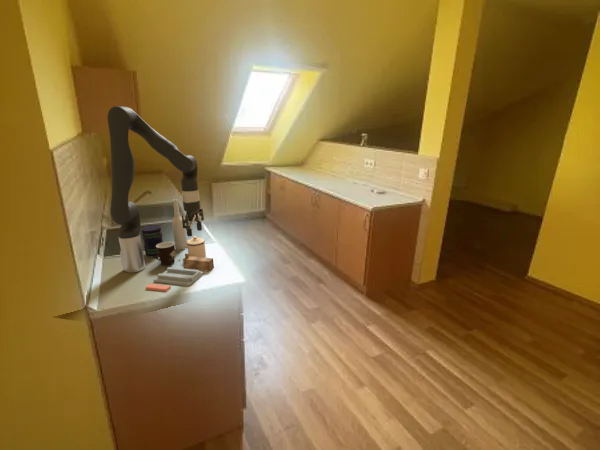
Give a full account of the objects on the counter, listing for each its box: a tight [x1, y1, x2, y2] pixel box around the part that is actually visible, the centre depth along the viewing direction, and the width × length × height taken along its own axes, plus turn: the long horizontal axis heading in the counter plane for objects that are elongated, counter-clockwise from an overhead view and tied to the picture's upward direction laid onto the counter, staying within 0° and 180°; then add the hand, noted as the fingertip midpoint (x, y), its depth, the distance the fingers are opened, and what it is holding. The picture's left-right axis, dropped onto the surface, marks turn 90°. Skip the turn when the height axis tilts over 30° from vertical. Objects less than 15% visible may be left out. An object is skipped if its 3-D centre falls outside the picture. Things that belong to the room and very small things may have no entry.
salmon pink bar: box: [145, 283, 172, 292], centre depth 141 cm, size 10×3×2 cm, turn 78°
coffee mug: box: [154, 241, 176, 267], centre depth 164 cm, size 12×9×10 cm
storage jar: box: [140, 224, 164, 258], centre depth 176 cm, size 10×10×15 cm
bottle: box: [171, 198, 188, 250], centre depth 183 cm, size 7×7×28 cm
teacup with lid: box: [186, 235, 207, 258], centre depth 172 cm, size 12×9×12 cm
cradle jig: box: [153, 266, 205, 287], centre depth 150 cm, size 18×12×3 cm, turn 76°
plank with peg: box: [182, 253, 215, 272], centre depth 160 cm, size 14×4×7 cm, turn 76°
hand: (194, 233), depth 155 cm, fingers open, 8 cm apart
